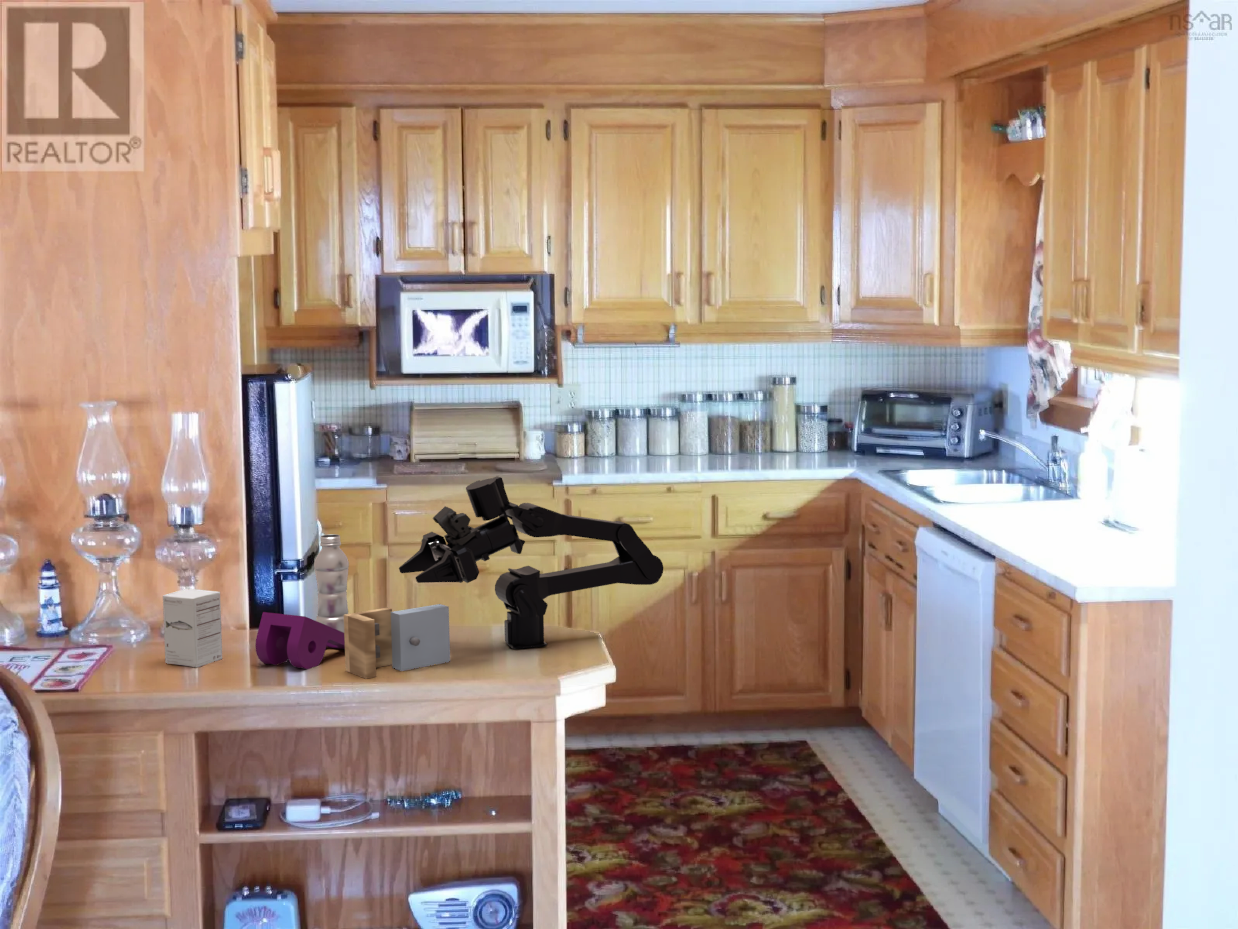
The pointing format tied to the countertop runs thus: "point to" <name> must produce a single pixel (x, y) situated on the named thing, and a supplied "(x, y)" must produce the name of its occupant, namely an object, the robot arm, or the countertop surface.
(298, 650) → the mounting bracket
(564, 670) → the countertop surface
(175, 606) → the supplement box
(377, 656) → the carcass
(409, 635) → the pale grey oblong block
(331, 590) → the plastic bottle
